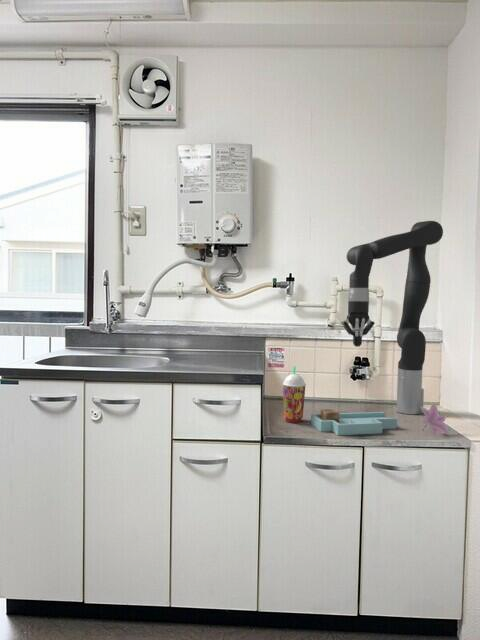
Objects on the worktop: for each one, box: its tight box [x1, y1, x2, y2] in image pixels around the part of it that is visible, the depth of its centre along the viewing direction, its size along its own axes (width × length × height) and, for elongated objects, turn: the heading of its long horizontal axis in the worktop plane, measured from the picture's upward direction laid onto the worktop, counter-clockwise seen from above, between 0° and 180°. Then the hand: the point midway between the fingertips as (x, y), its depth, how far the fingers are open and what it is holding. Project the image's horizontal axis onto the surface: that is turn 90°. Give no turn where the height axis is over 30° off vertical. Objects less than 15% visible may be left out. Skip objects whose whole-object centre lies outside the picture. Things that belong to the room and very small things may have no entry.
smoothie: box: [282, 365, 307, 424], centre depth 190 cm, size 8×8×20 cm
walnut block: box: [320, 408, 340, 423], centre depth 183 cm, size 5×5×4 cm
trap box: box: [310, 411, 398, 436], centre depth 182 cm, size 28×15×4 cm, turn 102°
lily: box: [420, 401, 451, 438], centre depth 177 cm, size 12×12×10 cm
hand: (357, 346), depth 196 cm, fingers closed
